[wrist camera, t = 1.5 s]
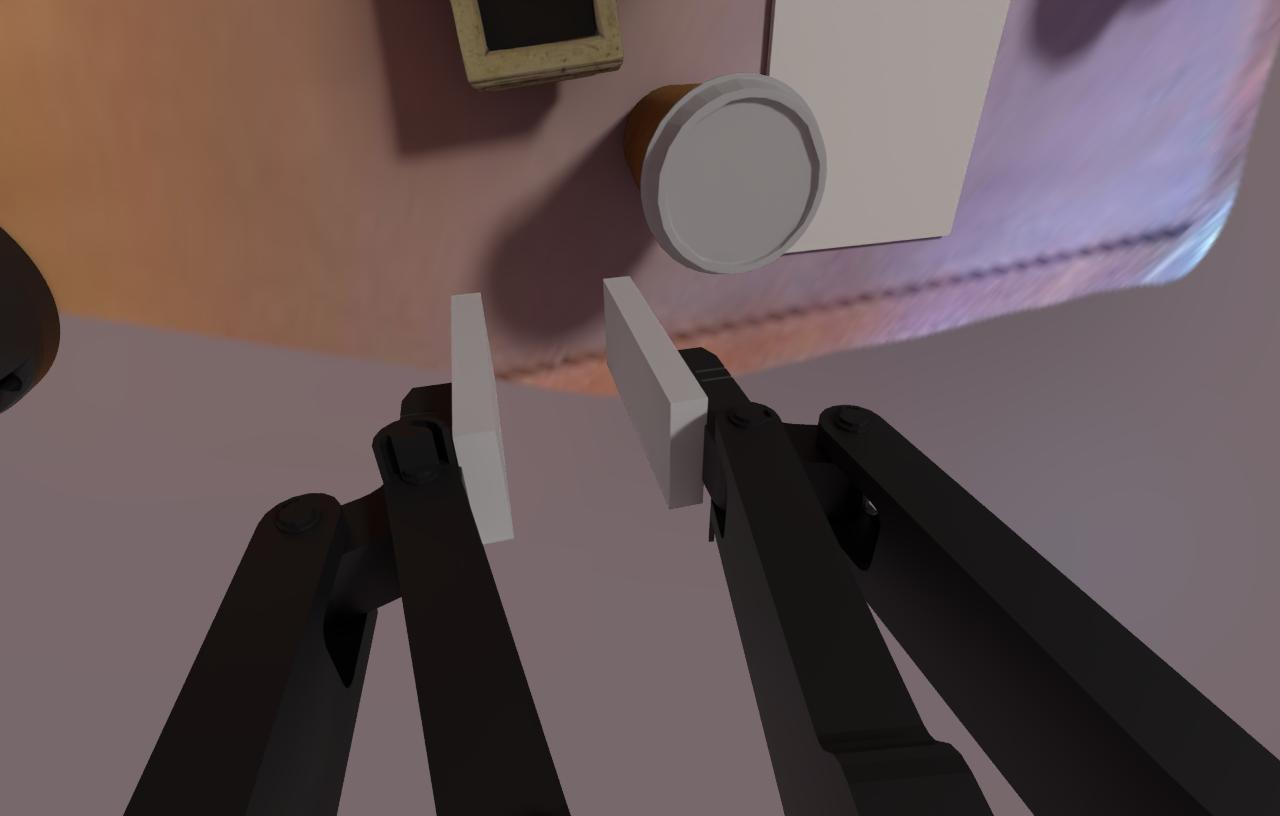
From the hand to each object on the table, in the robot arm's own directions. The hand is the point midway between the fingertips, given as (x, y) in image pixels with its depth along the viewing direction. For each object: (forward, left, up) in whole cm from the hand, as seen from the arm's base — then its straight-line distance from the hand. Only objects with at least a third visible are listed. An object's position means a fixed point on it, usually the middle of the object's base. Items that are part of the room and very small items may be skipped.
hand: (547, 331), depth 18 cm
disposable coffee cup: (+11, 0, -25) cm, 27 cm away
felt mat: (+25, 0, -25) cm, 35 cm away
